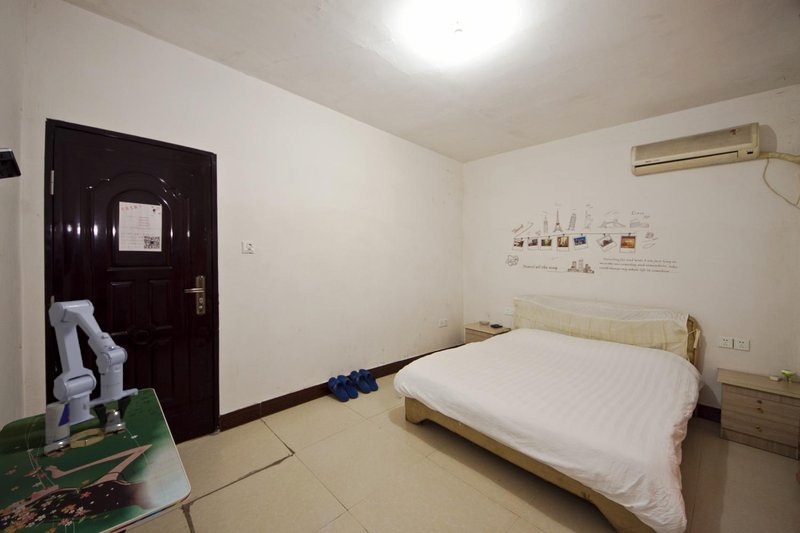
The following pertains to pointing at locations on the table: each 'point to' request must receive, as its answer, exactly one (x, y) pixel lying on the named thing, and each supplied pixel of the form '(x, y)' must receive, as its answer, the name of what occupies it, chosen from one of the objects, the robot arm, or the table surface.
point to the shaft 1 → (57, 447)
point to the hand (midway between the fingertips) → (112, 421)
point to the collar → (87, 442)
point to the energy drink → (57, 421)
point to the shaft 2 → (115, 428)
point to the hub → (112, 417)
